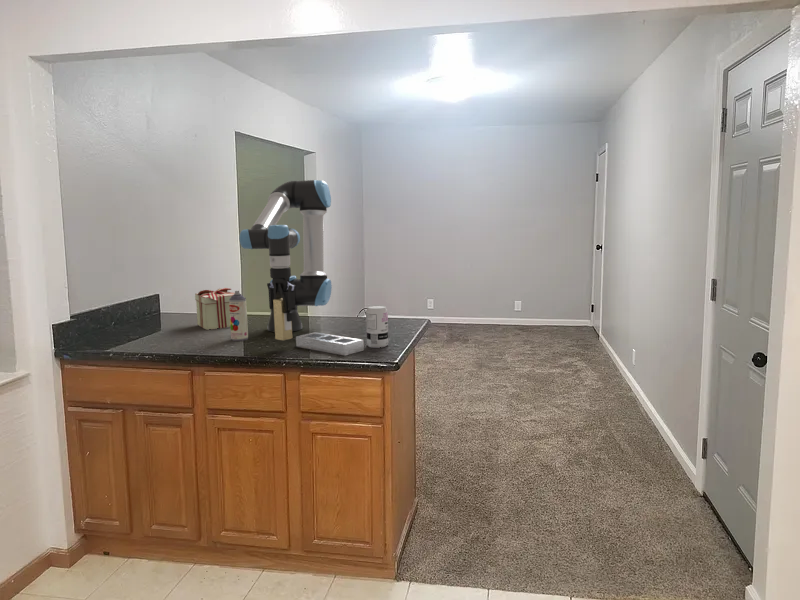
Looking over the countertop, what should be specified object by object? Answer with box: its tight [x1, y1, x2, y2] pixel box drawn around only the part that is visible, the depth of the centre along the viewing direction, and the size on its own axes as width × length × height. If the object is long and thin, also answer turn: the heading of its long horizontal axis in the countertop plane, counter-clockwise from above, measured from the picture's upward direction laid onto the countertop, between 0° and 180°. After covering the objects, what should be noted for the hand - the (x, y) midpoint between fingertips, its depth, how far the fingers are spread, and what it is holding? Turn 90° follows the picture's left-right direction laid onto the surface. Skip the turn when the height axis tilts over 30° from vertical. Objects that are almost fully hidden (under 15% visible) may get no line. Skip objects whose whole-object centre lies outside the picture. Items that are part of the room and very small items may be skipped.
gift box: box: [194, 287, 235, 331], centre depth 287 cm, size 17×18×17 cm
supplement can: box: [365, 305, 389, 349], centre depth 240 cm, size 8×8×15 cm
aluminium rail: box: [295, 331, 365, 356], centre depth 238 cm, size 26×10×4 cm, turn 51°
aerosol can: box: [229, 290, 249, 342], centre depth 257 cm, size 7×7×20 cm
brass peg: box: [273, 298, 293, 341], centre depth 235 cm, size 4×4×15 cm
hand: (283, 328), depth 236 cm, fingers closed on brass peg, 4 cm apart
